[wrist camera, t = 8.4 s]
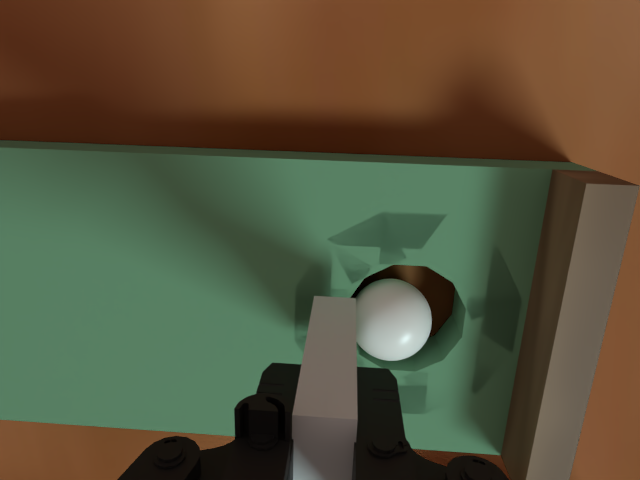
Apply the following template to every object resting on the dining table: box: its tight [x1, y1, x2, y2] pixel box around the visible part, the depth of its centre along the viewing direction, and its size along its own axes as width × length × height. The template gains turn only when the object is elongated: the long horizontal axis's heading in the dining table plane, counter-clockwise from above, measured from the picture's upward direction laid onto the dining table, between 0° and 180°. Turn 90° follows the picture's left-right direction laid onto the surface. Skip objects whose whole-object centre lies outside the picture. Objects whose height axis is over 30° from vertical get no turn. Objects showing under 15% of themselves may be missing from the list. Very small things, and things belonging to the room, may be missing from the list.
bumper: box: [501, 169, 639, 480], centre depth 17 cm, size 2×12×2 cm, turn 178°
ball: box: [356, 279, 432, 361], centre depth 19 cm, size 3×3×3 cm
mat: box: [0, 140, 596, 455], centre depth 20 cm, size 24×12×2 cm, turn 88°
